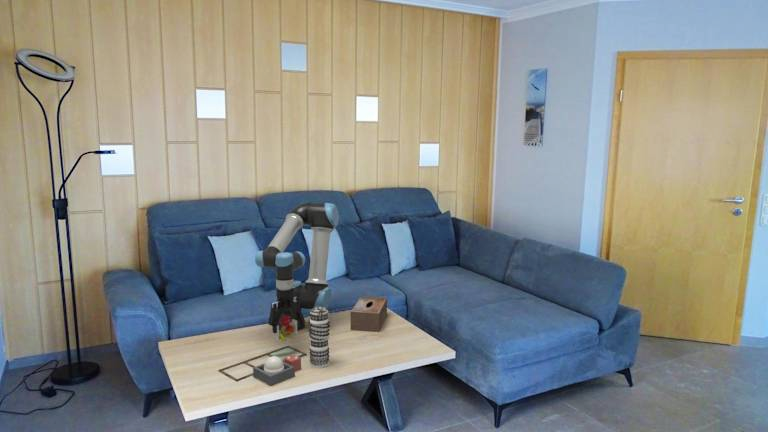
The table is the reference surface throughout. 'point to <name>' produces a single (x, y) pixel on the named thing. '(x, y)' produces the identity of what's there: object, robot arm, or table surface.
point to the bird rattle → (286, 328)
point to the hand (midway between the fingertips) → (285, 336)
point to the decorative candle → (319, 337)
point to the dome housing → (290, 367)
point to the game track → (279, 353)
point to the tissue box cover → (369, 314)
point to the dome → (273, 365)
